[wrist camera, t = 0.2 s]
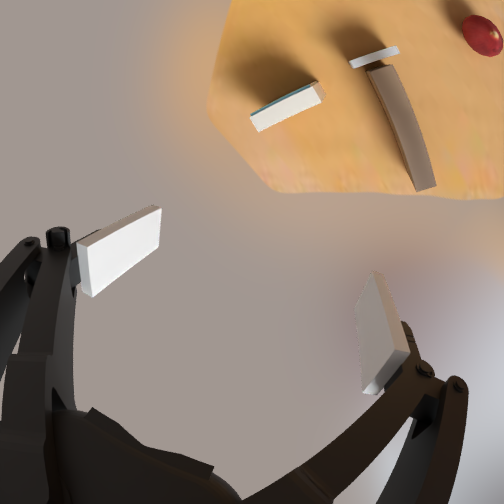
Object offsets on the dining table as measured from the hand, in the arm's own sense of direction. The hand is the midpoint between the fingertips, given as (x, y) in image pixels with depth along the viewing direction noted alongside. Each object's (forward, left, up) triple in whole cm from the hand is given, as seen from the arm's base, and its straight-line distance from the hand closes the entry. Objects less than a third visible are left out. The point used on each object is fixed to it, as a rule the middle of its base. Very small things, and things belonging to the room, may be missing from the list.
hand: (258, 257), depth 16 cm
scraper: (-13, +1, -27) cm, 30 cm away
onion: (-30, -7, -27) cm, 41 cm away
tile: (-1, -6, -27) cm, 28 cm away
